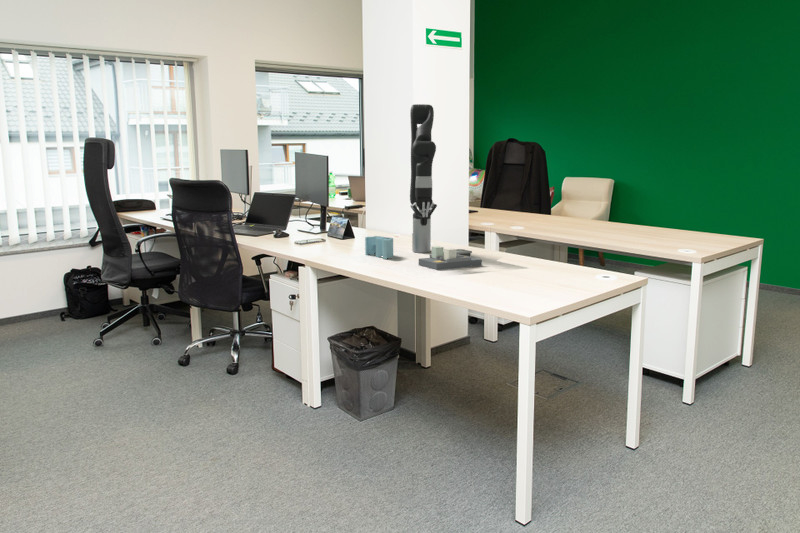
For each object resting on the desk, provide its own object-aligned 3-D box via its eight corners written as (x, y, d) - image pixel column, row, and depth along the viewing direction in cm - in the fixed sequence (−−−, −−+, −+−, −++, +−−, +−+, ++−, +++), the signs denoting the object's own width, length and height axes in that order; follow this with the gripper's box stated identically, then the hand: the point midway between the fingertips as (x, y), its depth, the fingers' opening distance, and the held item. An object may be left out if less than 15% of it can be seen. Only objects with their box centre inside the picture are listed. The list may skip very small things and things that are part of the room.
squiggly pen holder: (399, 257, 316) (399, 238, 315) (385, 259, 309) (385, 240, 308) (374, 253, 329) (374, 235, 327) (360, 255, 322) (360, 237, 320)
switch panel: (418, 265, 290) (418, 255, 289) (462, 261, 301) (462, 251, 300) (436, 270, 276) (436, 259, 275) (481, 265, 287) (482, 256, 286)
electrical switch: (445, 250, 311) (461, 245, 315) (447, 260, 312) (462, 255, 317) (456, 252, 303) (472, 247, 307) (458, 262, 304) (473, 258, 309)
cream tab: (443, 259, 283) (444, 248, 283) (451, 259, 285) (451, 248, 285) (448, 261, 280) (448, 249, 279) (456, 260, 282) (456, 249, 281)
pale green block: (431, 257, 291) (431, 246, 290) (438, 256, 293) (438, 246, 292) (435, 258, 287) (436, 247, 287) (443, 258, 289) (443, 247, 288)
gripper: (432, 186, 288) (432, 224, 290) (406, 186, 282) (406, 225, 284) (440, 186, 281) (440, 225, 284) (415, 187, 275) (415, 226, 278)
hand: (423, 225), depth 284 cm, fingers closed
